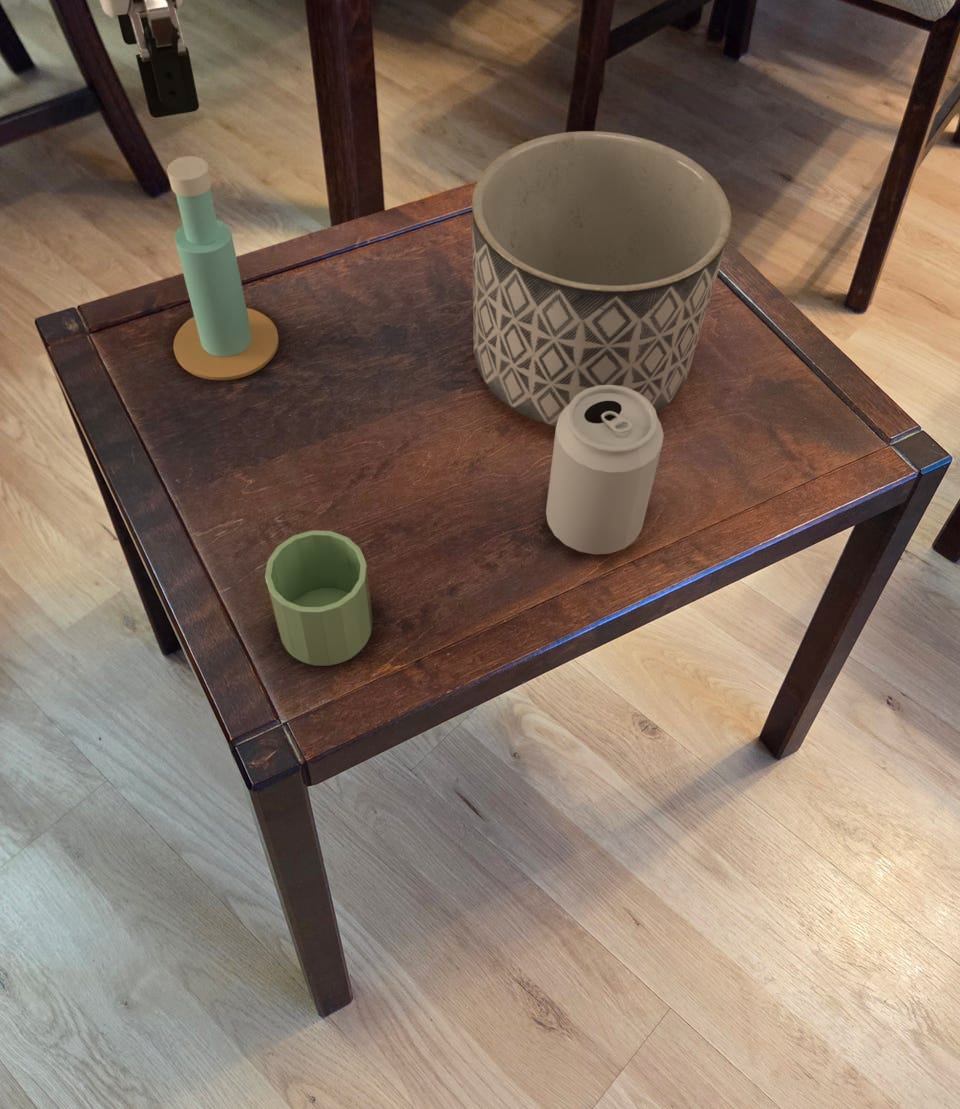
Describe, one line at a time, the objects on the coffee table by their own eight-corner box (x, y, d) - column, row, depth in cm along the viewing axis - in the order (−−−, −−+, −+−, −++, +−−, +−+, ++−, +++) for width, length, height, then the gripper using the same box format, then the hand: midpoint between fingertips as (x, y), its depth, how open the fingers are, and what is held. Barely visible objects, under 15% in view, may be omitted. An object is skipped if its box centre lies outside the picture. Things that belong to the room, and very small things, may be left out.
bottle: (207, 362, 90) (163, 190, 77) (196, 329, 93) (152, 156, 79) (257, 350, 91) (223, 178, 78) (245, 318, 94) (210, 145, 80)
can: (603, 471, 85) (623, 361, 75) (661, 535, 81) (690, 428, 71) (526, 509, 82) (536, 400, 72) (582, 576, 78) (601, 471, 69)
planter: (468, 448, 86) (472, 287, 72) (468, 291, 97) (471, 128, 84) (704, 450, 86) (750, 291, 73) (676, 294, 97) (712, 132, 84)
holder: (293, 678, 73) (280, 624, 67) (269, 603, 76) (254, 546, 71) (384, 649, 74) (378, 594, 69) (356, 577, 78) (349, 519, 72)
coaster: (186, 391, 89) (185, 387, 88) (165, 322, 94) (164, 319, 93) (290, 365, 91) (289, 362, 90) (264, 300, 96) (263, 296, 95)
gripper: (6, -269, 62) (84, 23, 76) (45, -157, 52) (127, 153, 66) (135, -279, 64) (189, 7, 78) (195, -173, 54) (244, 133, 68)
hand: (160, 74), depth 72 cm, fingers open, 9 cm apart
